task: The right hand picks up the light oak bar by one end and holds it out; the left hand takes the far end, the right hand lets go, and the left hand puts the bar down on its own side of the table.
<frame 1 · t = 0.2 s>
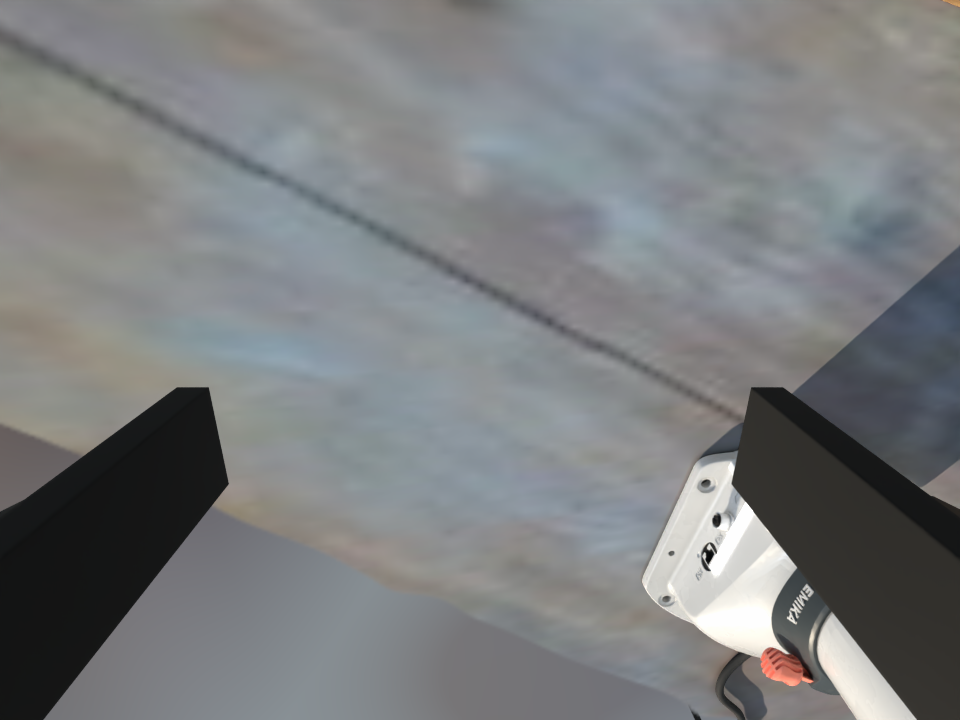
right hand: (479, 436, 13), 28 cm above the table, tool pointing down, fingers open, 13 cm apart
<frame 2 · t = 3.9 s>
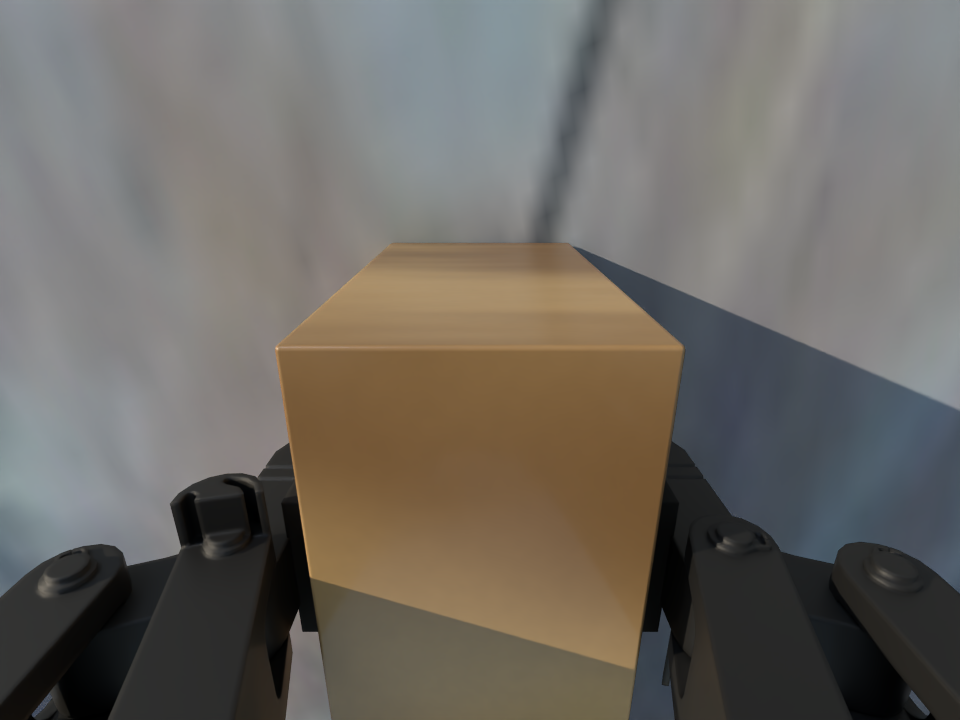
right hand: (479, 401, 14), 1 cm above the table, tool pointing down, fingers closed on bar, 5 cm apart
bar: (480, 613, 18), on the table, touching right hand
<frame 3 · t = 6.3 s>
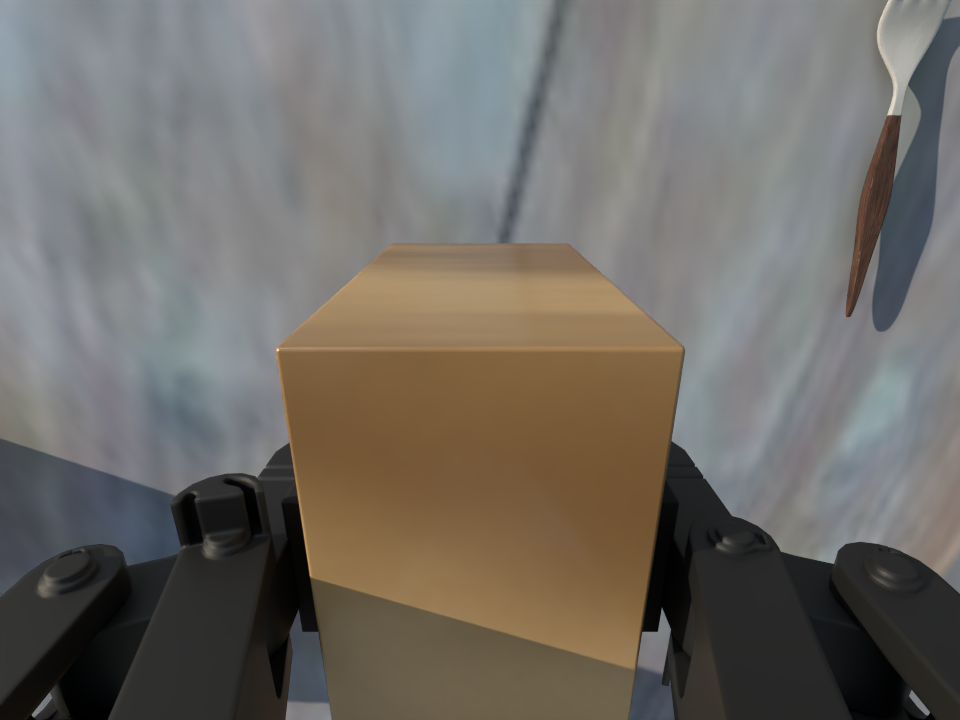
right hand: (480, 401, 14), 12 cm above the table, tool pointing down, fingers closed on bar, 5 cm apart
bar: (480, 613, 18), point 11 cm above the table, touching right hand
fork: (876, 144, 23), on the table
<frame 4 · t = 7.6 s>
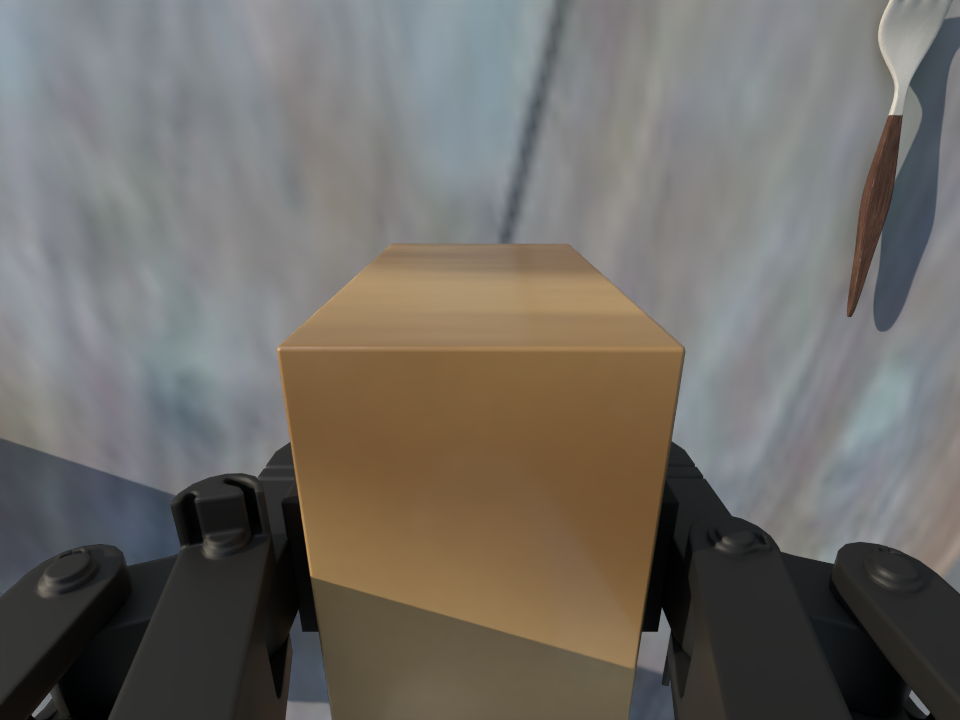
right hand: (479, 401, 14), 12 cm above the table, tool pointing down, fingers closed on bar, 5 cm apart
bar: (479, 613, 18), point 11 cm above the table, touching right hand, left hand
fork: (877, 144, 23), on the table
when the right hand's fingers open (12 cm above the table, at t = 8.6 s): bar stays where it is, held by the left hand.
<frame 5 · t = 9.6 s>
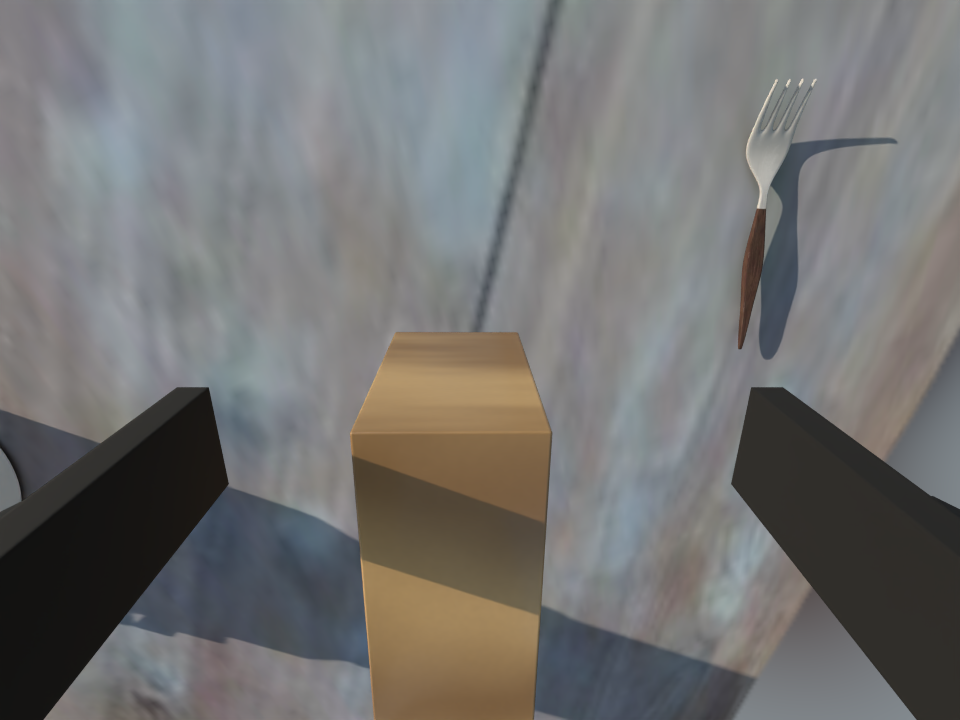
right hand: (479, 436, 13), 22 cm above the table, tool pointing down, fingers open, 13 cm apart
bar: (458, 596, 24), point 14 cm above the table, touching left hand
fork: (752, 226, 32), on the table
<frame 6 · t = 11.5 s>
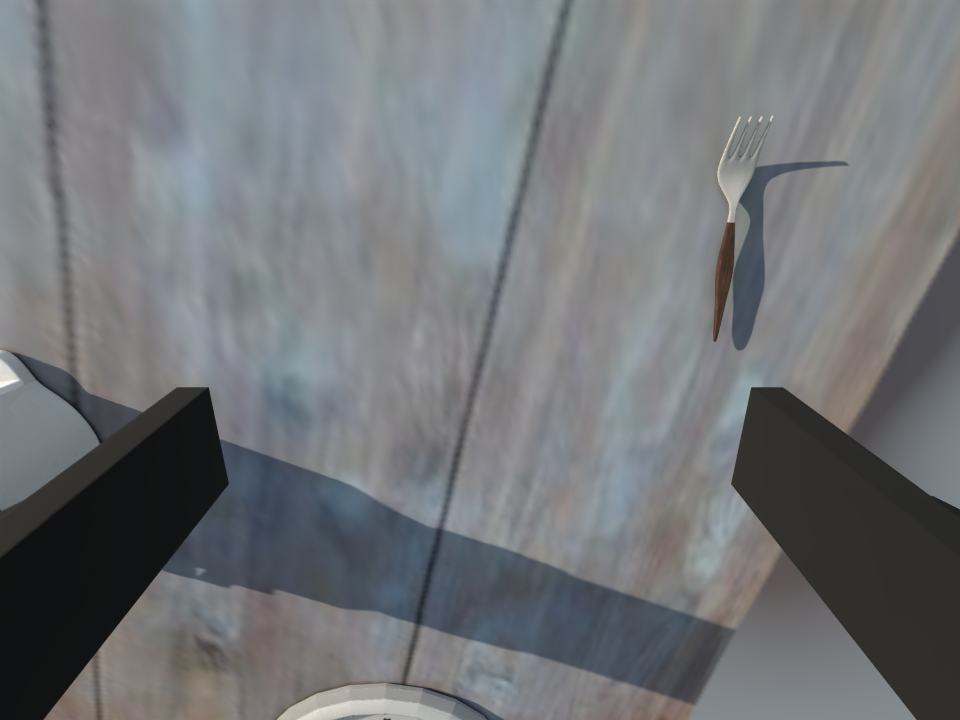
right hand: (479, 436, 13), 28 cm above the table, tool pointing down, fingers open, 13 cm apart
fork: (724, 236, 38), on the table
when the left hand's fingers open (4 cm above the table, at t = 15.3 s): bar stays where it is, on the table.
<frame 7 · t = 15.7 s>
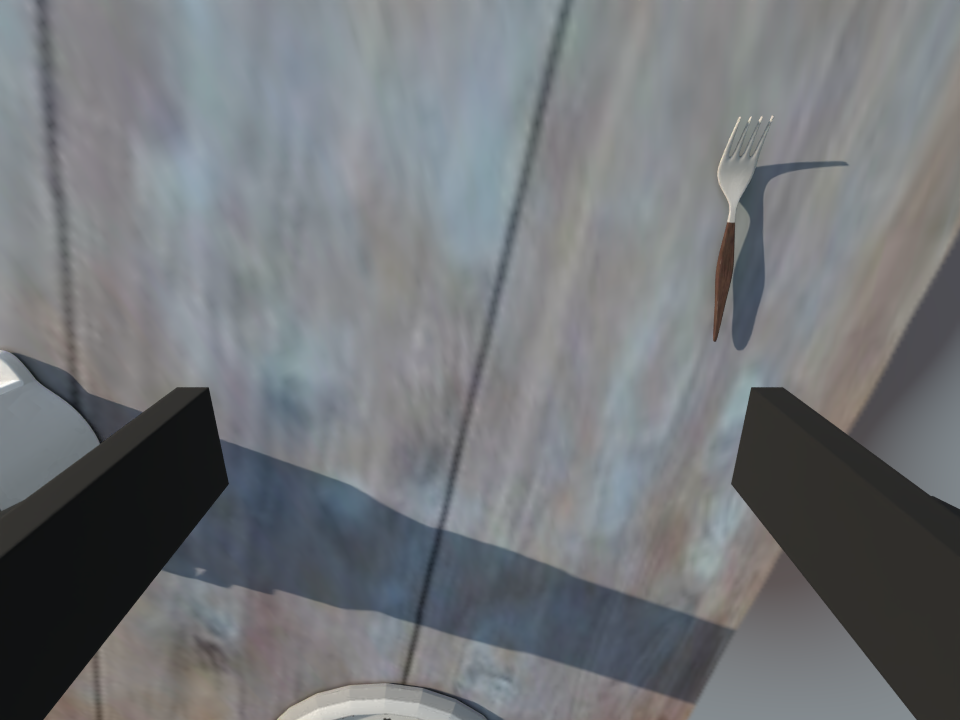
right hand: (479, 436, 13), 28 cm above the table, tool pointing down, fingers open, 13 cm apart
fork: (724, 236, 38), on the table
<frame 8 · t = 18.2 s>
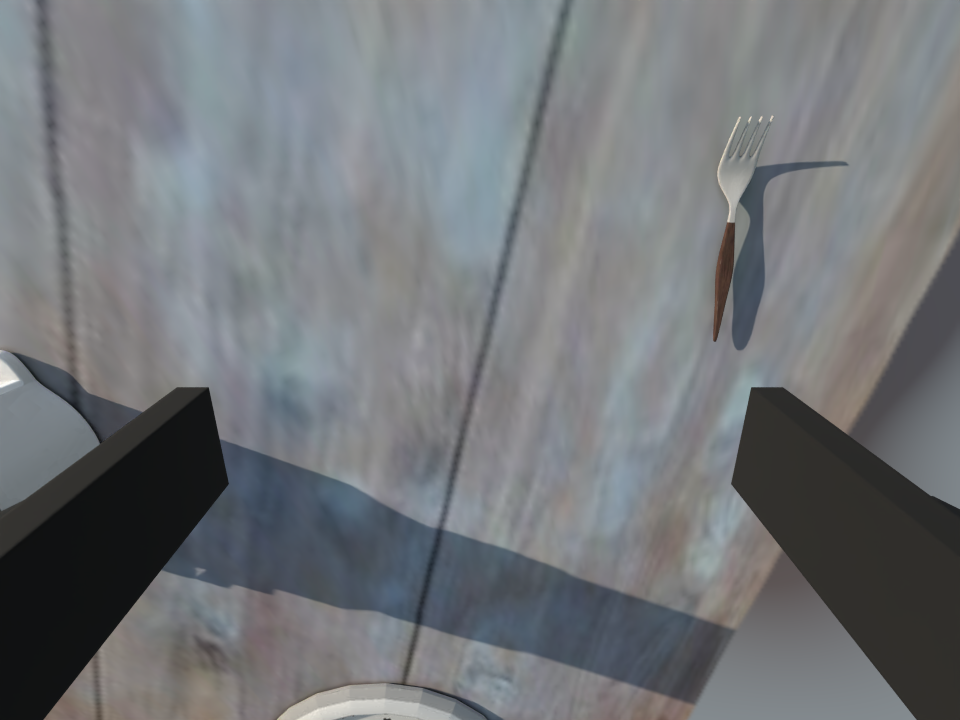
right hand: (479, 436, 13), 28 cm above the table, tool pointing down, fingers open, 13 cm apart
fork: (724, 236, 38), on the table
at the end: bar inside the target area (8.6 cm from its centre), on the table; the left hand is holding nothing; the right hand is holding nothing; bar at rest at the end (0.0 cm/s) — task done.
